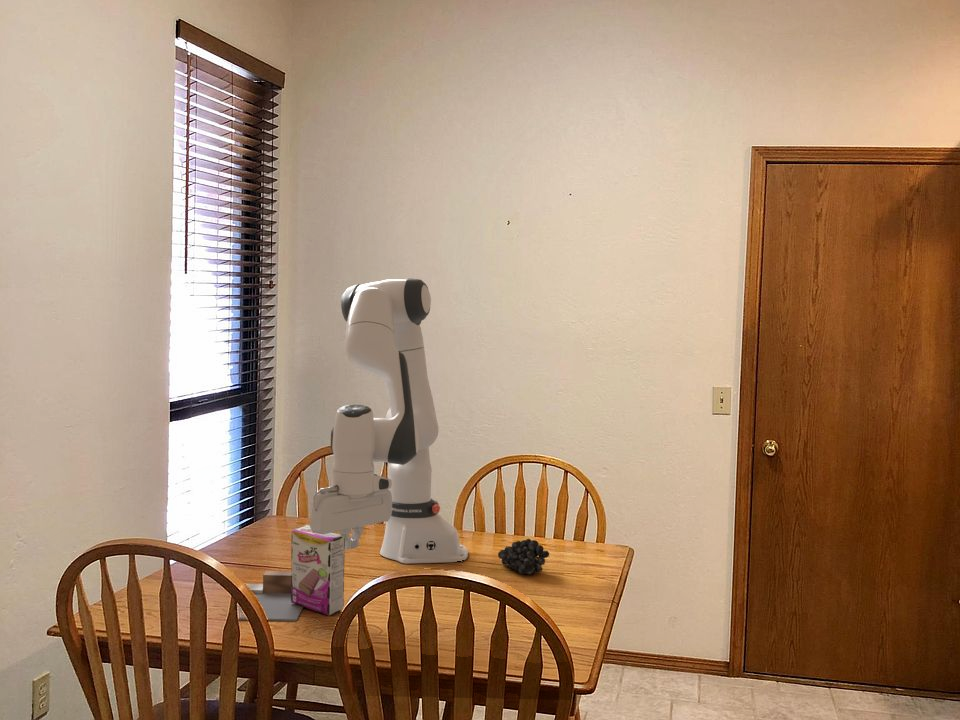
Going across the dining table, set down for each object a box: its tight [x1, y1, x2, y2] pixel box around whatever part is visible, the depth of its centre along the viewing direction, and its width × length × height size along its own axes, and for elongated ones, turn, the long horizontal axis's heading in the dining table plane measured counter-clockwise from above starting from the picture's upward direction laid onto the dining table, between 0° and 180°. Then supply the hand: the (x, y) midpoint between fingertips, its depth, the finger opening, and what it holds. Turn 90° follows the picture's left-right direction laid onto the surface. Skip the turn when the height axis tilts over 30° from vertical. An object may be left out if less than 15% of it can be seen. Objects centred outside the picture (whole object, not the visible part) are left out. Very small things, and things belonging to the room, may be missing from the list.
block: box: [245, 570, 291, 594], centre depth 218 cm, size 13×4×4 cm, turn 91°
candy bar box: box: [290, 524, 346, 616], centre depth 208 cm, size 11×5×16 cm, turn 57°
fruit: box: [497, 538, 550, 576], centre depth 242 cm, size 9×8×15 cm
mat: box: [238, 593, 304, 622], centre depth 211 cm, size 14×20×1 cm
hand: (351, 548), depth 207 cm, fingers closed
